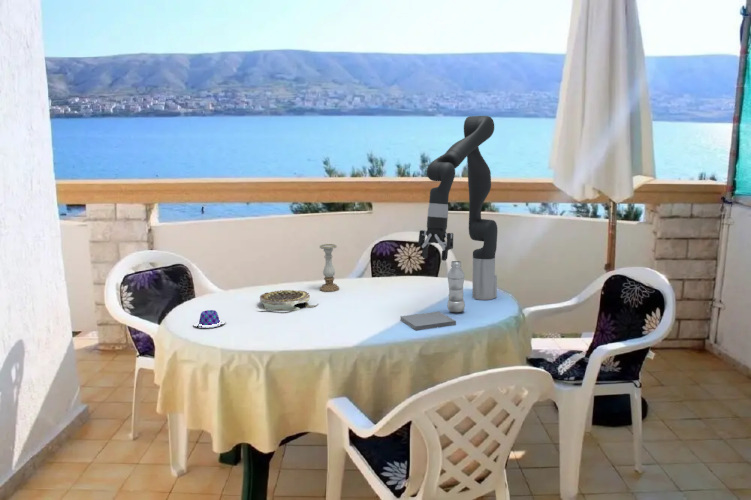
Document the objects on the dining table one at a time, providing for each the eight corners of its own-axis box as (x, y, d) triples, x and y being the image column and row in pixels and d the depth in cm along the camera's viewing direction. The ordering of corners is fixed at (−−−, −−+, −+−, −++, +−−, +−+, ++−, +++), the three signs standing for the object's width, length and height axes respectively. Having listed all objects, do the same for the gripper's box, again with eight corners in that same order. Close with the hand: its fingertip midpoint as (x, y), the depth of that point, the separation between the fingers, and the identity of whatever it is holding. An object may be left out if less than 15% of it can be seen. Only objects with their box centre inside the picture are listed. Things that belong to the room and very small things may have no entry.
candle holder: (343, 288, 294) (341, 244, 290) (331, 292, 287) (330, 247, 283) (327, 286, 299) (326, 243, 295) (315, 290, 292) (314, 246, 288)
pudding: (191, 323, 246) (190, 309, 245) (223, 319, 250) (222, 306, 249) (195, 331, 235) (194, 317, 234) (228, 327, 239) (228, 313, 239)
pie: (238, 310, 263) (238, 298, 262) (273, 295, 288) (273, 284, 287) (299, 316, 252) (299, 304, 251) (330, 300, 277) (330, 289, 276)
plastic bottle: (464, 314, 248) (464, 263, 245) (446, 314, 250) (446, 263, 246) (465, 310, 255) (465, 260, 251) (448, 309, 256) (448, 260, 252)
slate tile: (438, 315, 249) (438, 311, 248) (456, 324, 236) (456, 320, 235) (400, 320, 243) (400, 316, 243) (415, 330, 230) (415, 326, 230)
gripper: (459, 217, 240) (455, 261, 241) (427, 215, 249) (424, 257, 250) (447, 217, 234) (444, 261, 235) (416, 214, 243) (413, 257, 244)
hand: (434, 259), depth 242 cm, fingers open, 8 cm apart
